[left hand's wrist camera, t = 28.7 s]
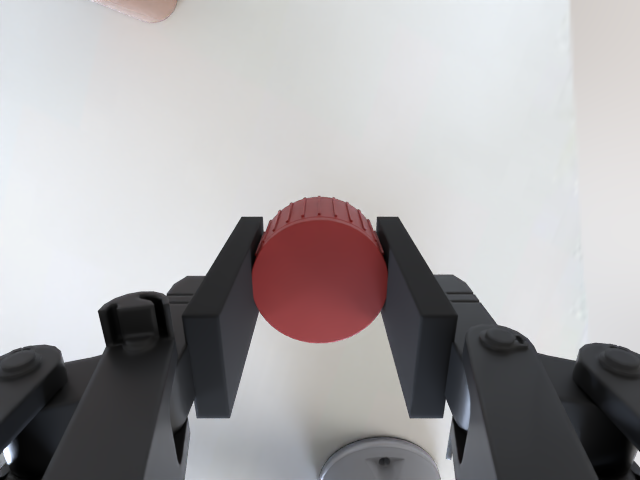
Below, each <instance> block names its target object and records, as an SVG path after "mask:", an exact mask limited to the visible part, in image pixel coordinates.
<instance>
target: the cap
mask: <svg viewBox="0 0 640 480" xmlns="http://www.w3.org/2000/svg"><path fill="white" fill-rule="evenodd" d="M383 255H384V251H383V249H382V246H381V244H380V241H379V238H378V236H377V233H376V231H373V228H372V225H371V223H370V220H369V219H366V218H365V216H364V215H363V214H362V213H361V211H360V210H359V209H358V210H357V209H356V208H354V207H353V206H351V205H349V203H348V202H343V201H340V200H338V199H335V198H334V197H333V198H328V197H320V196H318V197H312V198H304V199H302V200H299V201H297V202H294V203H290V205H289V206H287V207H285V208H284V209H283V210H279V211H278V214H277V215H276V216H275V217H274V218H273V220H270V221H269V224H268V226H267V229H266V232H263V235H262V238H261V240H260V243H259V245H258V248H257V250H256V253H255V256H256V259H255V262H254V264H253V267H252V285H253V298H254V301H255V304H256V306H257V308H258V310H259V311H260V313H261V314H262V316H263V317H264V318H265V320H266V321H267V322H268V323H269V324H270V325H271V326H273V327H274V328H275V329H276V330H278V331H279V332H281V333H283V334H284V335H286V336H289V337H291V338H293V339H296V340H300V341H304V342H309V343H330V342H336V341H340V340H344V339H346V338H349V337H351V336H353V335H355V334H357V333H359V332H360V331H362V330H363V329H365V328H366V327H367V326H368V325H369V324H370V323H371V322H372V321H373V320H374V319H375V318H376V317H377V315H378V314H379V312H380V311H381V309H382V307H383V305H384V303H385V301H386V295H387V281H388V269H387V265H386V262H385V259H384V257H383Z"/></svg>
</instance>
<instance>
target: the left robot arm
mask: <svg viewBox="0 0 640 480" xmlns="http://www.w3.org/2000/svg"><path fill="white" fill-rule="evenodd" d="M376 233H377V236H378V238H379V241H380V244H381V246H382V249H383V251H384V255H383V257H384V259H385V262H386V265H387V269H388V281H387V295H386V301H385V303H384V305H383V307H382V309H381V314H382V318H383V322H384V325H385V329H386V333H387V336H388V340H389V344H390V347H391V351H392V355H393V358H394V362H395V366H396V369H397V373H398V377H399V380H400V384H401V388H402V391H403V395H404V399H405V402H406V406H407V410H408V413H409V417H410V418H443V414H444V408H445V401H446V400H447V402H448V405H449V407H450V410H451V412H452V415H453V416H452V423H451V429H450V435H449V441H448V448H447V454H446V459H450V460H451V457H452V454H453V462H454V471H455V479H456V480H640V467H639V466H638V465H637V464H636V463H635V461H634V458H635V456H636V453H637V451H638V450H639V451H640V354H638V353H635V352H633V351H631V350H629V349H627V348H624V347H621V346H617V345H613V344H603V343H592V344H586V345H584V346H583V347H582V348H580V349H579V353H578V356H577V360H576V361H573V360H568V359H563V358H558V357H553V356H548V355H544V354H540V353H537V351H536V349H535V347H534V346H533V344H532V343H531V342H530V341H529V339H528V338H526V337H525V336H523V335H522V334H520V333H519V332H517V331H515V330H512V329H510V328H507V327H504V326H499V325H497V324H496V322H495V321H494V320H493V318H492V317H491V316H490V314H489V313H488V312H487V310H486V309H485V308H484V306H483V305H482V304H481V303H479V300H478V298H477V297H476V296H475V294H473V292H472V290H471V289H470V288H469V286H468V285H467V284H466V283H465V282H464V281H462V280H460V279H459V278H457V277H456V276H454V275H433V273H432V272H431V270H430V268H429V267H428V265H427V263H426V262H425V260H424V259H423V257H422V255H421V254H420V252H419V250H418V249H417V247H416V245H415V244H414V242H413V241H412V239H411V237H410V236H409V234H408V232H407V231H406V229H405V227H404V226H403V224H402V222H401V221H400V219H399V218H398V217H377V227H376ZM262 235H263V217H241V219H240V220H239V222H238V224H237V225H236V227H235V229H234V230H233V232H232V234H231V235H230V237H229V238H228V240H227V242H226V243H225V245H224V247H223V248H222V250H221V252H220V253H219V255H218V256H217V258H216V260H215V261H214V263H213V265H212V266H211V268H210V270H209V271H208V273H207V275H206V276H186V277H185V278H183V279H182V280H180V281H178V282H177V283H175V284H174V285H173V286H172V288H171V289H170V290H169V292H168V293H167V296H165V295H164V294H162V293H158V292H153V291H149V292H136V293H130V294H126V295H123V296H120V297H117V298H115V299H113V300H111V301H109V302H108V303H106V304H104V305H103V306H102V307H101V308H100V309H99V310H98V313H99V318H100V322H101V326H102V330H103V334H104V339H105V343H106V348H105V350H104V352H103V354H102V355H99V356H95V357H91V358H86V359H81V360H76V361H71V362H65V363H64V361H63V357H62V354H61V351H60V350H59V349H57V348H56V347H55V346H49V345H35V346H27V347H23V348H19V349H15V350H13V351H11V352H9V353H7V354H5V355H3V356H0V454H1V453H2V452H3V454H4V457H5V459H6V463H5V465H4V466H3V467H2V468H1V469H0V480H185V472H186V463H187V455H188V447H189V438H190V429H189V423H188V414H189V411H190V409H191V406H192V404H193V401H194V403H195V409H196V416H197V418H230V416H231V412H232V409H233V405H234V401H235V398H236V394H237V390H238V387H239V383H240V379H241V376H242V372H243V368H244V365H245V361H246V357H247V354H248V350H249V346H250V343H251V339H252V335H253V332H254V328H255V324H256V321H257V317H258V313H259V310H258V308H257V306H256V304H255V301H254V298H253V285H252V267H253V264H254V262H255V259H256V256H255V253H256V250H257V248H258V245H259V243H260V240H261V238H262ZM319 480H441V478H440V475H439V472H438V469H437V466H436V464H435V462H434V460H433V459H432V457H431V456H430V455H429V454H428V453H427V452H426V451H425V450H423V449H422V448H420V447H419V446H417V445H415V444H413V443H411V442H408V441H405V440H401V439H396V438H388V437H377V438H368V439H363V440H359V441H356V442H353V443H351V444H349V445H346V446H345V447H343V448H341V449H340V450H338V451H337V452H335V453H334V454H333V455H332V456H331V457H330V458H329V459H328V460H327V462H326V463H325V465H324V466H323V468H322V470H321V473H320V478H319Z"/></svg>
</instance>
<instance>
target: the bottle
mask: <svg viewBox="0 0 640 480" xmlns="http://www.w3.org/2000/svg"><path fill="white" fill-rule="evenodd" d="M90 1H93V2H95V3H98V4H100V5H103V6H105V7H108V8H110V9H113V10H115V11H118V12H121V13H123V14H126V15H128V16H131V17H133V18H136V19H138V20H141V21H144V22H148V23H157V22H160V21H163V20H165V19H166V18H167V17H169V16H170V15H171V13H172V12H173V10H174V8H175V6H176V3H177V0H90Z"/></svg>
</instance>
